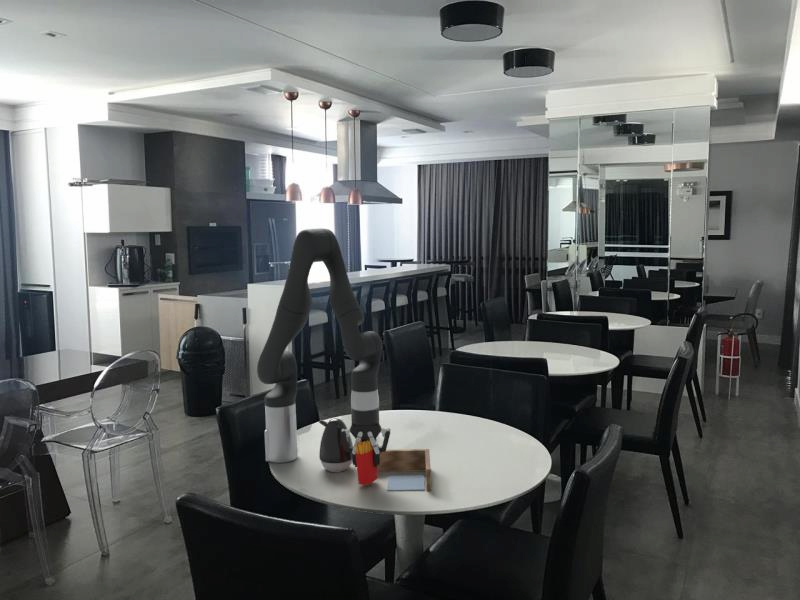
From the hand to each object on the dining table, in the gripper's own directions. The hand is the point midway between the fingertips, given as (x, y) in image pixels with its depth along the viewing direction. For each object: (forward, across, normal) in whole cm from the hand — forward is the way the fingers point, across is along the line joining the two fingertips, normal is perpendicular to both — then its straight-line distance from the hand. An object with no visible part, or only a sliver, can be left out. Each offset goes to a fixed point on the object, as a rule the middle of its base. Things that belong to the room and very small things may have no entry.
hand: (366, 465), depth 180 cm
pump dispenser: (+6, -10, +13) cm, 17 cm away
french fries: (+4, 0, 0) cm, 4 cm away
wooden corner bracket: (+5, +8, +3) cm, 10 cm away
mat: (+5, +11, +1) cm, 12 cm away
